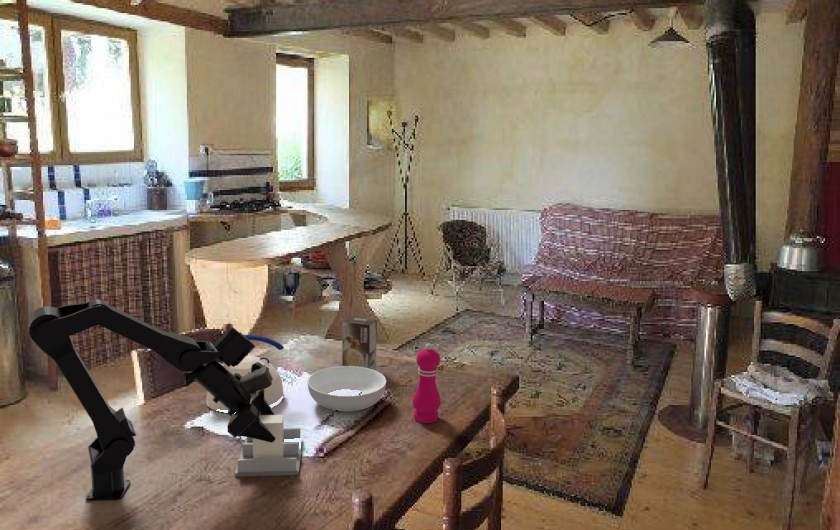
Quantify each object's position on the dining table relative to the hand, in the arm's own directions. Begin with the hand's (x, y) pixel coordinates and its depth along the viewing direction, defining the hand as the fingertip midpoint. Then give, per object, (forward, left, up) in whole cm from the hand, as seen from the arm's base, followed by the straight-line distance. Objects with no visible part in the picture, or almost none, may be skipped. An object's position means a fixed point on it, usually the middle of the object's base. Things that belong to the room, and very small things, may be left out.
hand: (275, 430), depth 139 cm
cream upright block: (0, +1, -7) cm, 7 cm away
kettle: (+36, +11, -8) cm, 39 cm away
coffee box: (+57, -20, -8) cm, 60 cm away
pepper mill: (+23, -36, -8) cm, 43 cm away
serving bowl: (+32, -16, -8) cm, 37 cm away
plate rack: (+3, +1, -8) cm, 9 cm away
